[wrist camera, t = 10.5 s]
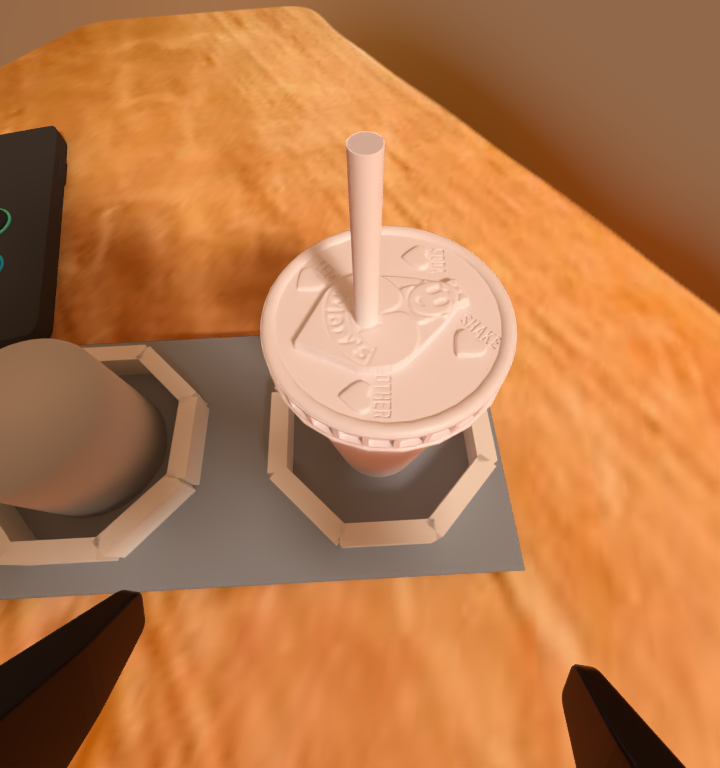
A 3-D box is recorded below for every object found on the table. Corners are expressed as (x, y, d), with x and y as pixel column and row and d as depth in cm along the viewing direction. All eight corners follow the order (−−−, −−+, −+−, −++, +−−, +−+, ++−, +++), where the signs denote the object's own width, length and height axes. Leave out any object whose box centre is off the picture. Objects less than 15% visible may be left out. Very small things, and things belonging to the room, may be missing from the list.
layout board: (467, 334, 22) (500, 256, 16) (516, 570, 16) (588, 568, 11) (41, 357, 22) (-67, 285, 16) (-48, 602, 16) (-253, 616, 11)
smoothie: (293, 402, 19) (148, 69, 6) (412, 360, 20) (489, -2, 7) (336, 531, 16) (229, 397, 4) (471, 477, 17) (751, 223, 5)
